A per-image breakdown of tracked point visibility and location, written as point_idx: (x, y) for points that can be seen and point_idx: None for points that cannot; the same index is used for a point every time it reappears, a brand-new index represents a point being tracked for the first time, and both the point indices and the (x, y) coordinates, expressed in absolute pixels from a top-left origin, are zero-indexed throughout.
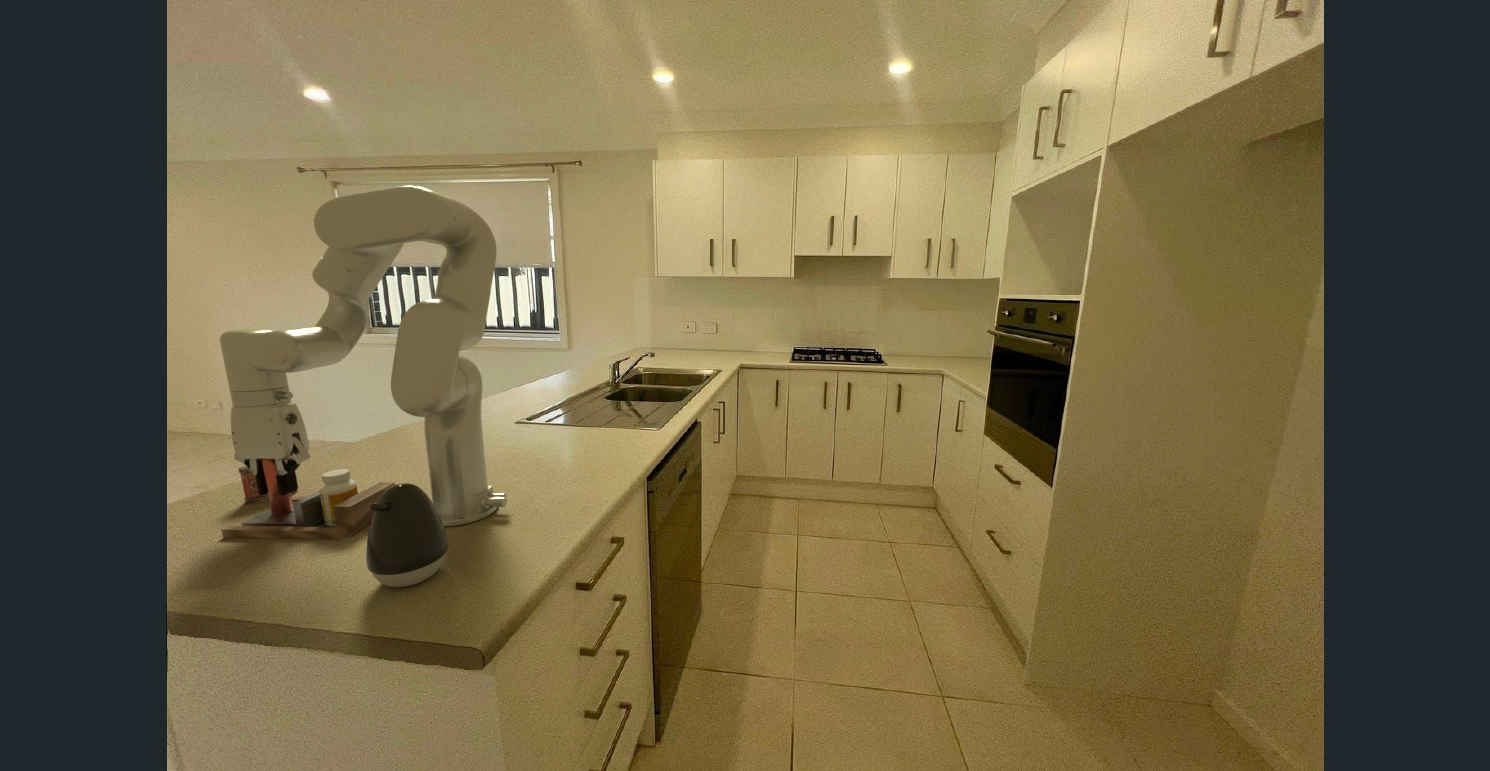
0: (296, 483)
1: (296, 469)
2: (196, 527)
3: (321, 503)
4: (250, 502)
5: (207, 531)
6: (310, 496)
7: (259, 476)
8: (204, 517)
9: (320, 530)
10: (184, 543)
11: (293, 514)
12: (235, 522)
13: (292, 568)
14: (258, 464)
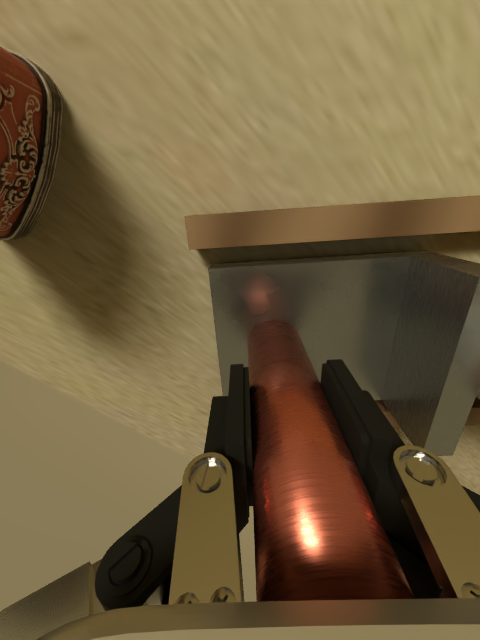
0: (371, 397)
1: (428, 460)
2: (88, 385)
3: (476, 396)
4: (21, 235)
5: (143, 398)
6: (449, 409)
7: (249, 503)
8: (26, 338)
9: (474, 422)
10: (163, 440)
11: (323, 353)
12: (152, 356)
13: (467, 487)
14: (241, 591)
